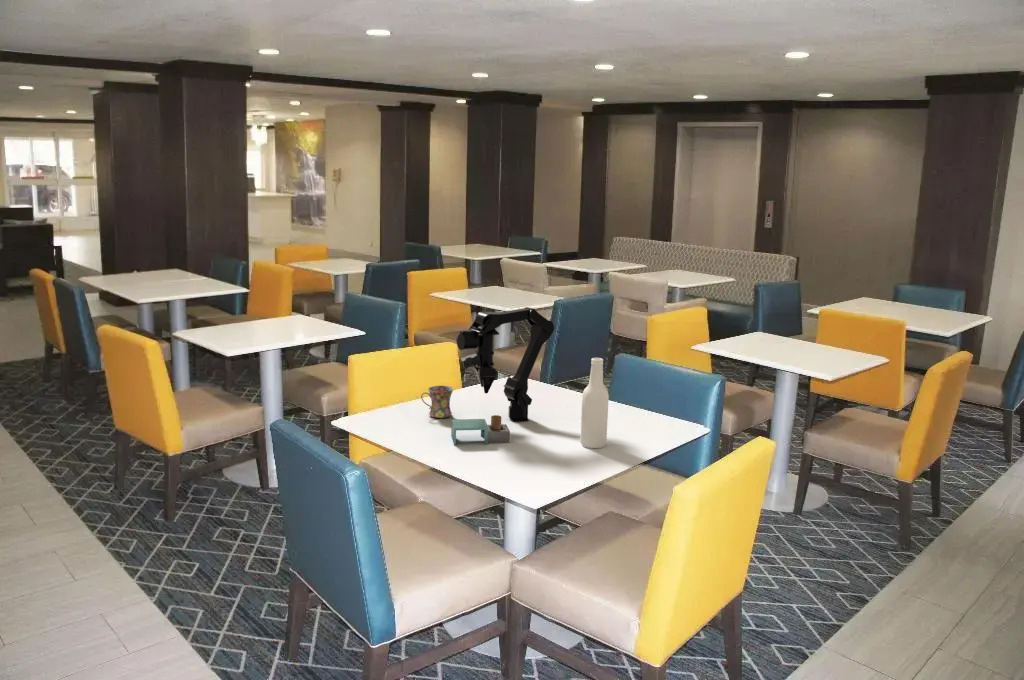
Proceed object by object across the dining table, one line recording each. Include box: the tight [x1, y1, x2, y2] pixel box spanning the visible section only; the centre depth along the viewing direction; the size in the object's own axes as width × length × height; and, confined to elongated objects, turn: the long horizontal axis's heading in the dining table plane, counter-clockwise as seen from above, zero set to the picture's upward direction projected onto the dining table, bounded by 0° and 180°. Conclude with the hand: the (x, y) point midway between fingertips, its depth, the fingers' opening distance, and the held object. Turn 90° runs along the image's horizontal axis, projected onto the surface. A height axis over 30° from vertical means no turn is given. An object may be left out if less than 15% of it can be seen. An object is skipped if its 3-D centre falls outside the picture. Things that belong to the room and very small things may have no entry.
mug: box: [420, 385, 454, 419], centre depth 309 cm, size 12×9×11 cm
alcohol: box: [579, 357, 610, 449], centre depth 279 cm, size 9×9×30 cm
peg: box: [490, 414, 502, 430], centre depth 285 cm, size 4×4×8 cm
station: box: [450, 418, 511, 446], centre depth 284 cm, size 19×10×6 cm, turn 100°
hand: (484, 389), depth 299 cm, fingers open, 9 cm apart
